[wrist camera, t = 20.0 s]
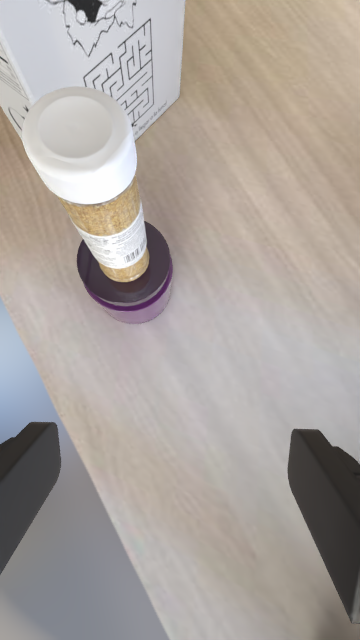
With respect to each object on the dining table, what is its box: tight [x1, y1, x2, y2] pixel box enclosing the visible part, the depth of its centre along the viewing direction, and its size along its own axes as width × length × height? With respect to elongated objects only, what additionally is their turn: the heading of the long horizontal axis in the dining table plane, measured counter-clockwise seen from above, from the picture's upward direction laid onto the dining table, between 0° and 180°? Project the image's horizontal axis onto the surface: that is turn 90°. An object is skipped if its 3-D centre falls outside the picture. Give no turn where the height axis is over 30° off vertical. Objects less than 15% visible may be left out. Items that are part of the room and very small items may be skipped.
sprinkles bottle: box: [22, 86, 149, 282], centre depth 17 cm, size 5×5×13 cm
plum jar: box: [77, 221, 173, 324], centre depth 28 cm, size 9×9×9 cm
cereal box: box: [0, 0, 185, 141], centre depth 25 cm, size 22×8×25 cm, turn 142°
